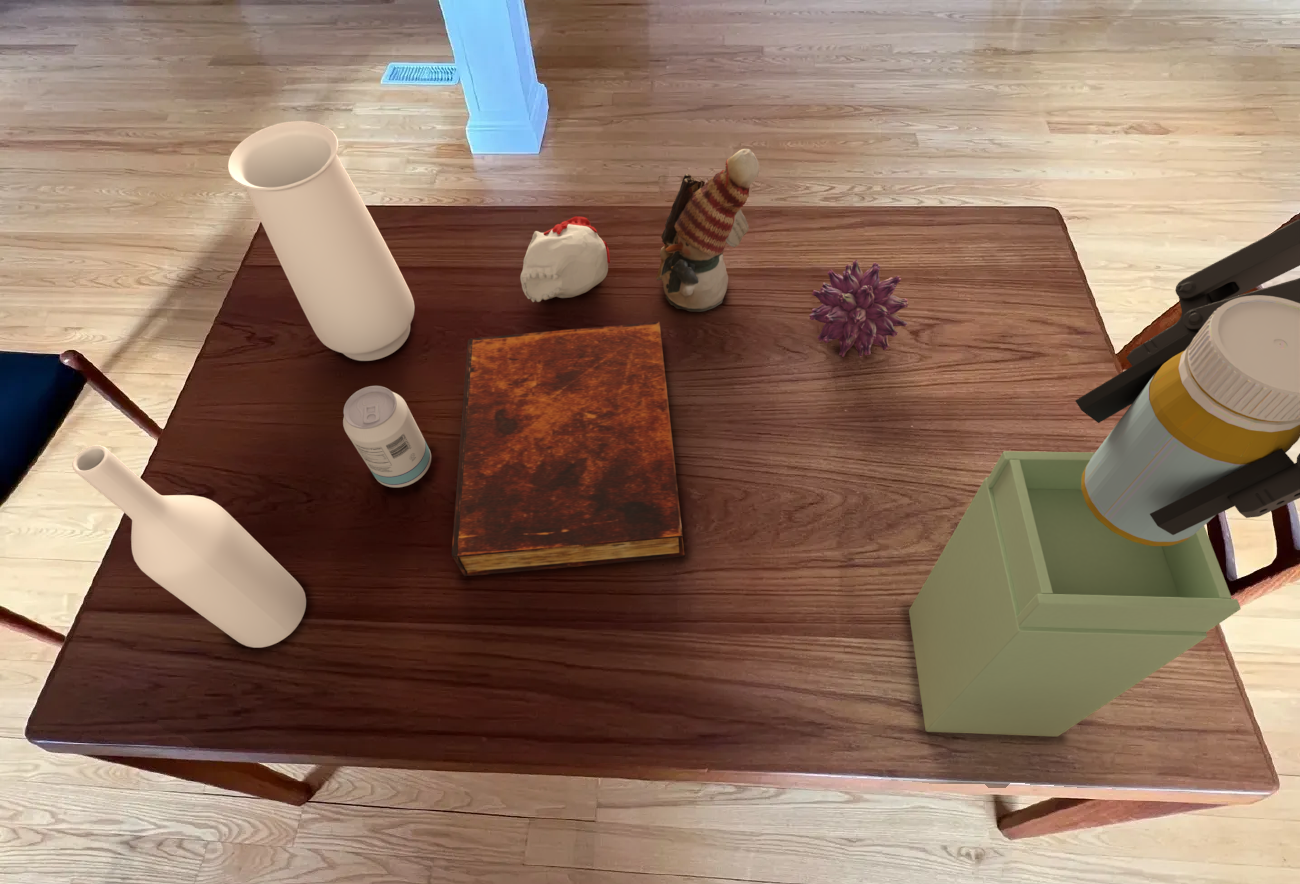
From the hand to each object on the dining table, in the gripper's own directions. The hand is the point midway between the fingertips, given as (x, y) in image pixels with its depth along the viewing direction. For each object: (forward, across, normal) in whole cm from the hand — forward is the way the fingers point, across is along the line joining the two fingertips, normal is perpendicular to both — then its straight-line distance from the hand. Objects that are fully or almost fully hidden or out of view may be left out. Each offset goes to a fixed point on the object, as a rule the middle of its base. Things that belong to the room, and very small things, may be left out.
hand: (1123, 465), depth 45 cm
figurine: (+34, +57, -20) cm, 70 cm away
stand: (+25, 0, -30) cm, 39 cm away
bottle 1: (+74, +22, +19) cm, 80 cm away
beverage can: (+63, +38, +9) cm, 74 cm away
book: (+50, +35, -5) cm, 61 cm away
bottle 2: (+2, 0, -6) cm, 7 cm away
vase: (+66, +60, +11) cm, 90 cm away
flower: (+23, +43, -32) cm, 58 cm away
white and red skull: (+46, +63, -8) cm, 79 cm away
